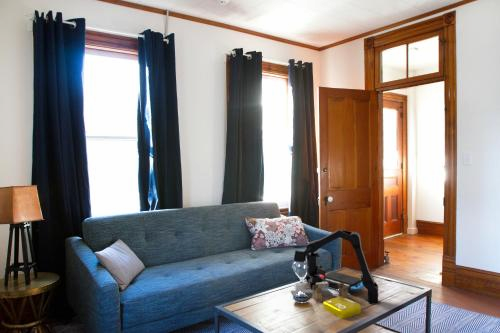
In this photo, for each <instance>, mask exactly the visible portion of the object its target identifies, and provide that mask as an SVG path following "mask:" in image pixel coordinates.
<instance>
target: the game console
mask: <svg viewBox="0 0 500 333" xmlns="http://www.w3.org/2000/svg"><path fill="white" fill-rule="evenodd" d="M319 276H320V277H321V278H322V282H326V281H327V282H328V283H329V287H330V288H329V287H328V288H329V289H332V288H335V289H334V290H336V289H339V283H344V286H348V295H349V294H350V295H354V294H356V293H357V292H359V291H361V290H362V289H363V288H365V287H364V285H363V283H362V281H361V279H360V278H361V277H357V276H352V275H349V274H344V273H341V272H337V271H334V270H333V271H330V272H329V273H326V274H325V276H323V275H321V274H320V275H319Z"/></svg>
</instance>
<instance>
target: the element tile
mask: <svg viewBox="0 0 500 333" xmlns="http://www.w3.org/2000/svg"><path fill="white" fill-rule="evenodd" d="M322 302H323V307H322V308H323V310H324V311H325V312H327V313H330V314H332V315H333V316H335V317H337V318H339V319H347V318H350V317H352V316H355V315H358V314H360V313H362V305H361V304H360V303H358V302H356V301H353V300H352V299H350V298H348V299H347V298H345V297H342V296H336V297H334V298H330V299H326V300H324V301H322Z"/></svg>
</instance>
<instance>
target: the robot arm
mask: <svg viewBox="0 0 500 333" xmlns="http://www.w3.org/2000/svg"><path fill="white" fill-rule="evenodd" d="M339 238H341V239H343V240H345V241H348V242H349V243H350V245H351V246H352V248H353V250H354V252H355V256H356V257H357V260H358V264H359V267H360V270H361V274H360V277H359V278H360V279H361V281H362V283H363V285H364V287H363V288H365V289H366V291H367V292H366V295H367V296H366V298H364V301H366V302H367V303H368V304H369V305H374V304H375V305H376V304H377V305H378V304H381V301H380V300H379V284H378V283H377V282H376V281H375V279H374V277H373V275H372V273H371V272H370V270H369V266H368V263H367V260H366V257H365V255H364V252H363V249H362V242H361V235H360V234H359V232H356V231H349V230H343V229H342V228H341V229H340V228H339V229H337V230H336V231H333V232H331V233H330V234H328V235H326V236H324V237H321V238H319V239H315V240H312V241H309V242H308V244H307V245H306V248H305V249H304V250H298V249H297V250H294V257H293V262H295V263H303V264H304V263H305V262H306V264H307V266H306V268H307V275H306V274H305V275H306V277H305V276H304V278H305V280H306V283H309V284H310V287H311V290H312V291H313V285H316V283H320V282H322V278H321V277H320V276H321V275H323V276H325V274H327V270H326V269H325V268H323V266H322V265H321V264H318V261H317V260H318V258H320V257H321V254H320V253H319V252H318V250H319V249H321V248H322V247H323V246H326V245H327V244H329V243H331V242H333V241H335V240H338V239H339Z"/></svg>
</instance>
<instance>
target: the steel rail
mask: <svg viewBox="0 0 500 333" xmlns="http://www.w3.org/2000/svg"><path fill="white" fill-rule="evenodd" d="M316 285H318V288H321V289H326V288H327V289H329V283H328V282H327V281H326V282H320V283H316ZM295 290H296V291H298V290H311V287H310V284H309V283H307V282H299V283H294V291H295Z"/></svg>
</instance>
